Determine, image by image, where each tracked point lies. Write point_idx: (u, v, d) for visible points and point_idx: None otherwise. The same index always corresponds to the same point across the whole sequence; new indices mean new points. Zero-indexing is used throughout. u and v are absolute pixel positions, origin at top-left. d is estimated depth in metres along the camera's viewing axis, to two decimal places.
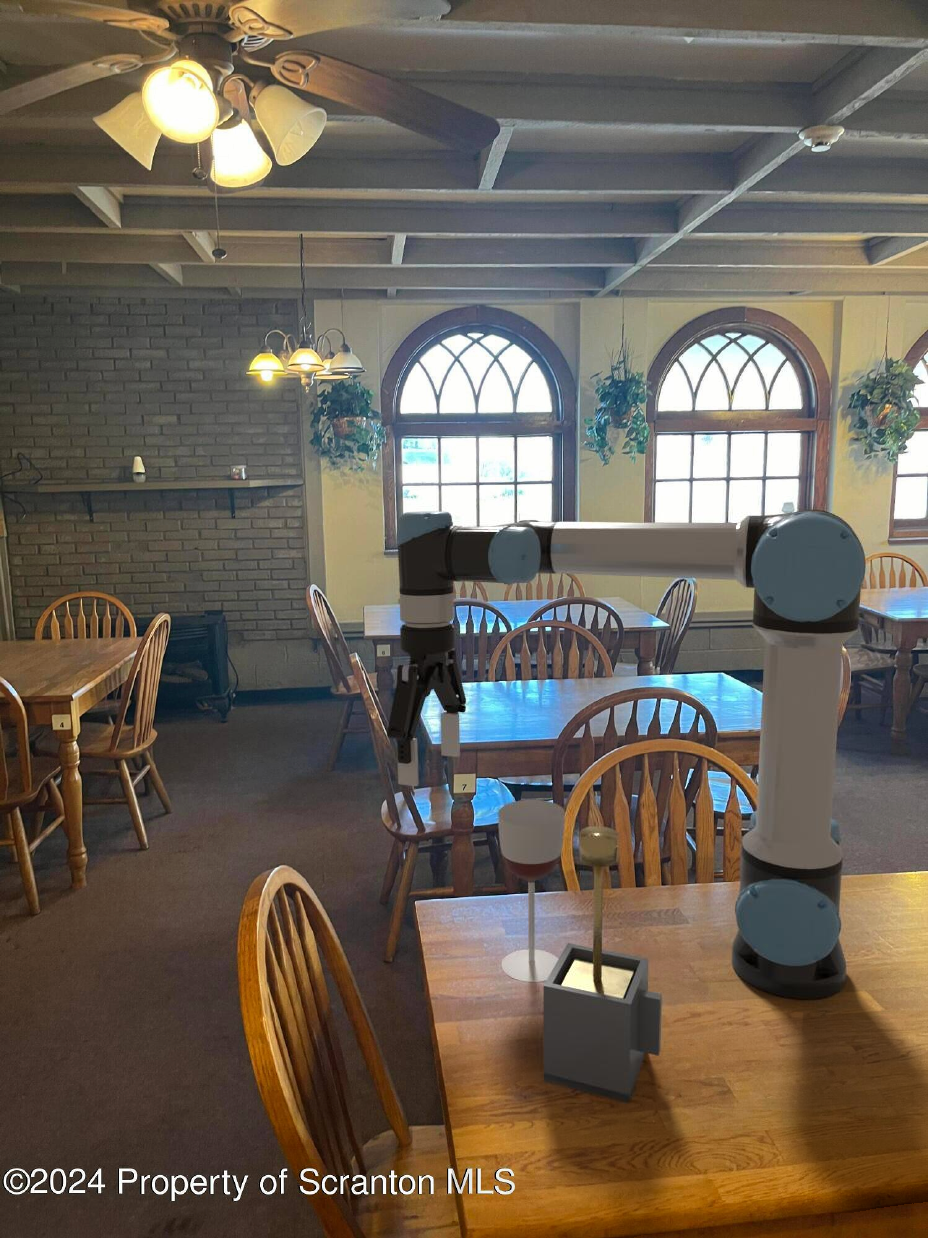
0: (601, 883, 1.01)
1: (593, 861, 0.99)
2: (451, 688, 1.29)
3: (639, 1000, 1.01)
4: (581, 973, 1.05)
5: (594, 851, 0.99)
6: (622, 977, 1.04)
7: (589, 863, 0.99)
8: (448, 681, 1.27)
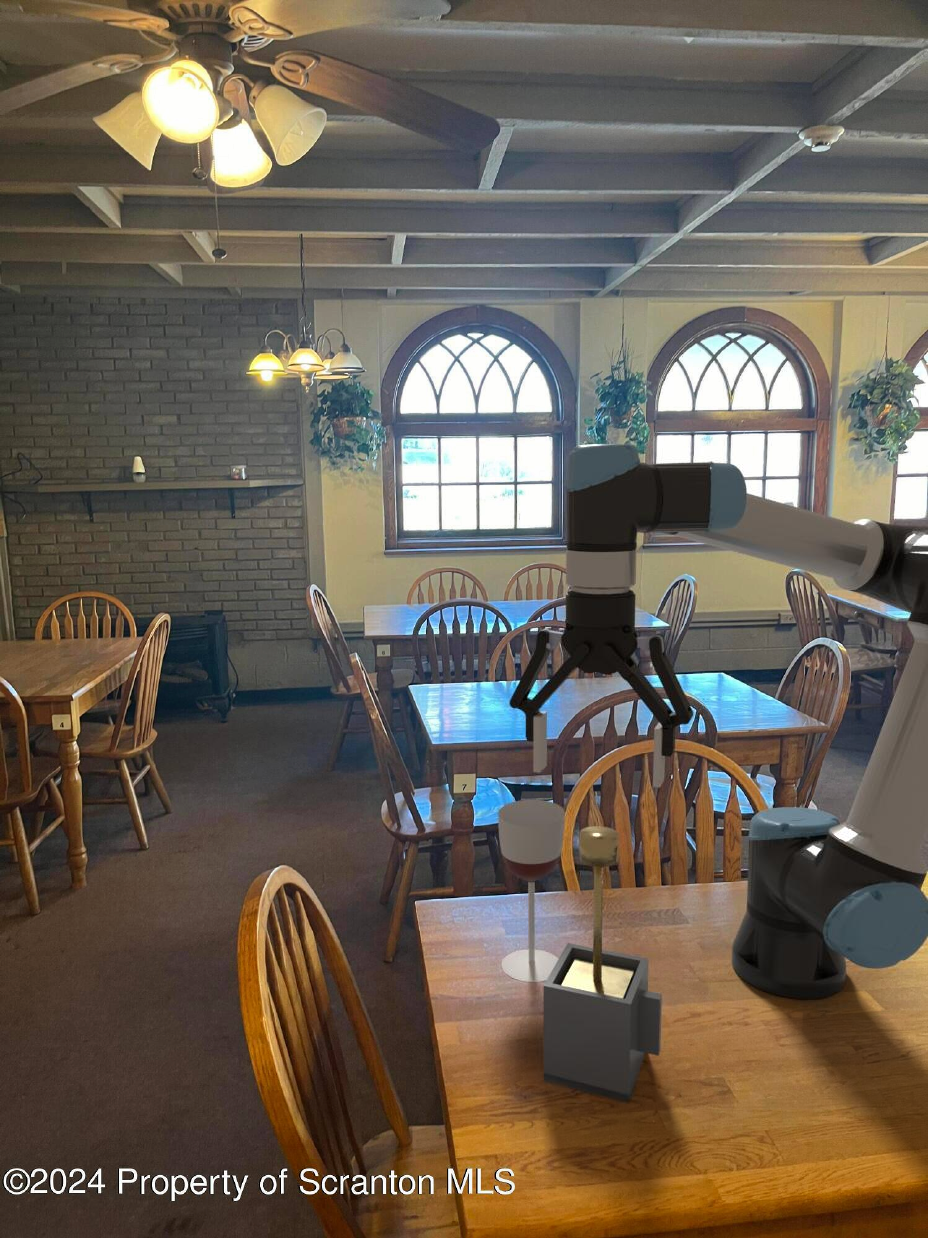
0: (601, 883, 1.01)
1: (593, 861, 0.99)
2: (642, 688, 0.95)
3: (639, 1000, 1.01)
4: (581, 973, 1.05)
5: (594, 851, 0.99)
6: (622, 977, 1.04)
7: (589, 863, 0.99)
8: (623, 673, 0.95)
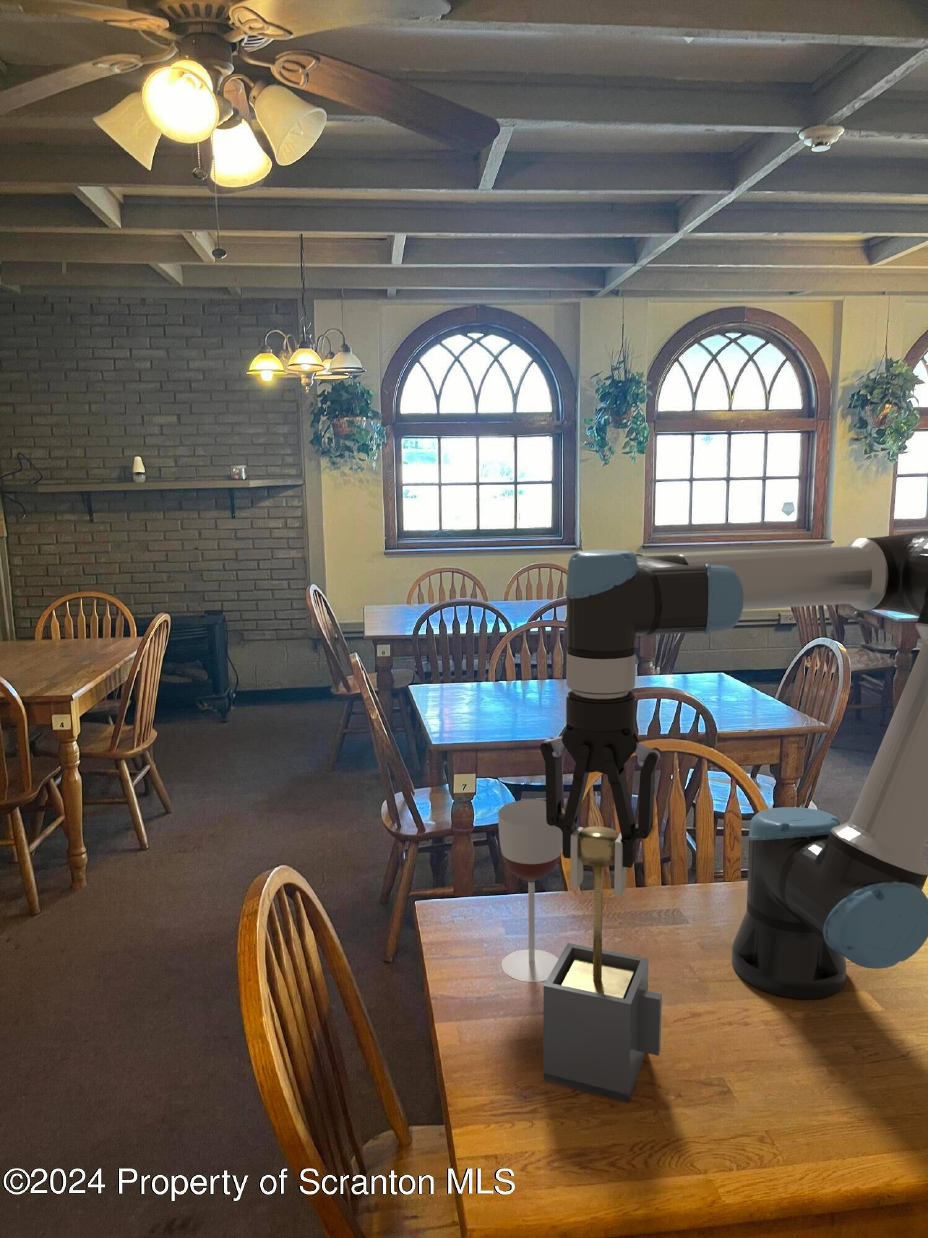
0: (601, 883, 1.01)
1: (593, 861, 0.99)
2: (621, 797, 0.98)
3: (639, 1000, 1.01)
4: (581, 973, 1.05)
5: (594, 851, 0.99)
6: (622, 977, 1.04)
7: (589, 863, 0.99)
8: (610, 778, 0.97)
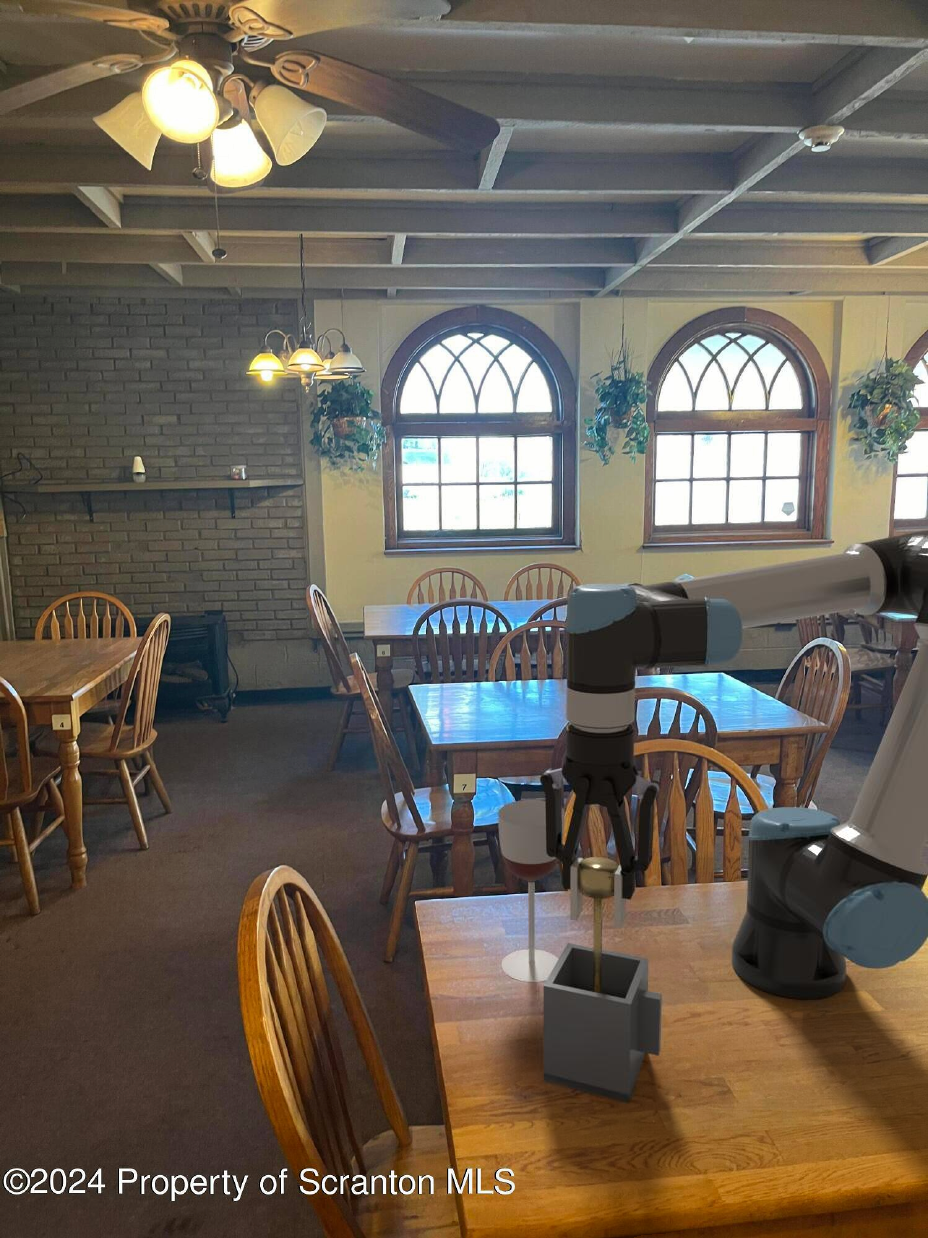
0: (601, 914, 1.02)
1: (593, 893, 1.00)
2: (620, 830, 0.98)
3: (639, 1000, 1.01)
4: None
5: (594, 883, 1.00)
6: None
7: (589, 895, 1.00)
8: (610, 811, 0.98)
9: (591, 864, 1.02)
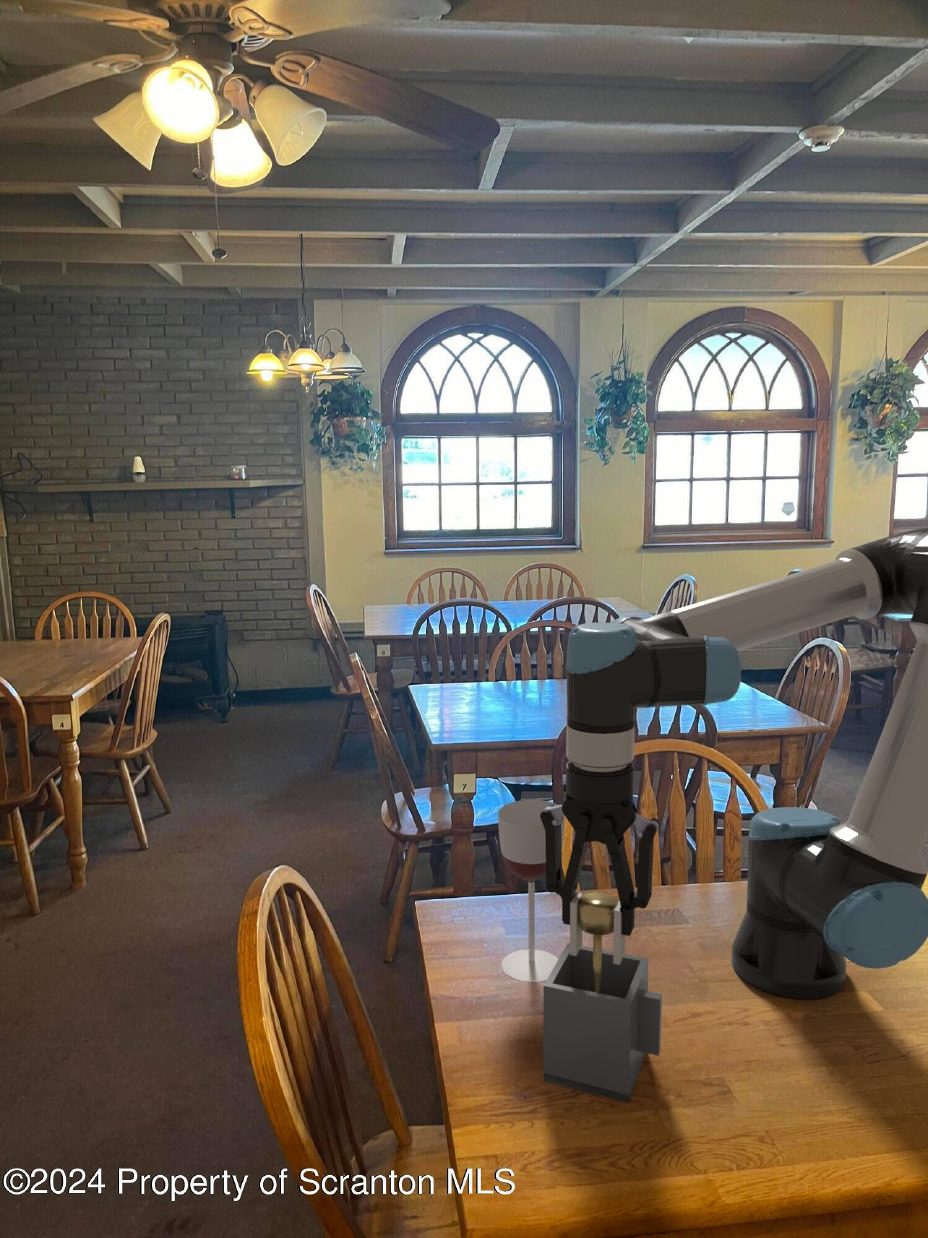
0: (600, 949, 1.03)
1: (592, 929, 1.01)
2: (620, 867, 0.99)
3: (639, 1000, 1.01)
4: None
5: (593, 919, 1.00)
6: None
7: (589, 931, 1.01)
8: (609, 848, 0.99)
9: (591, 900, 1.02)
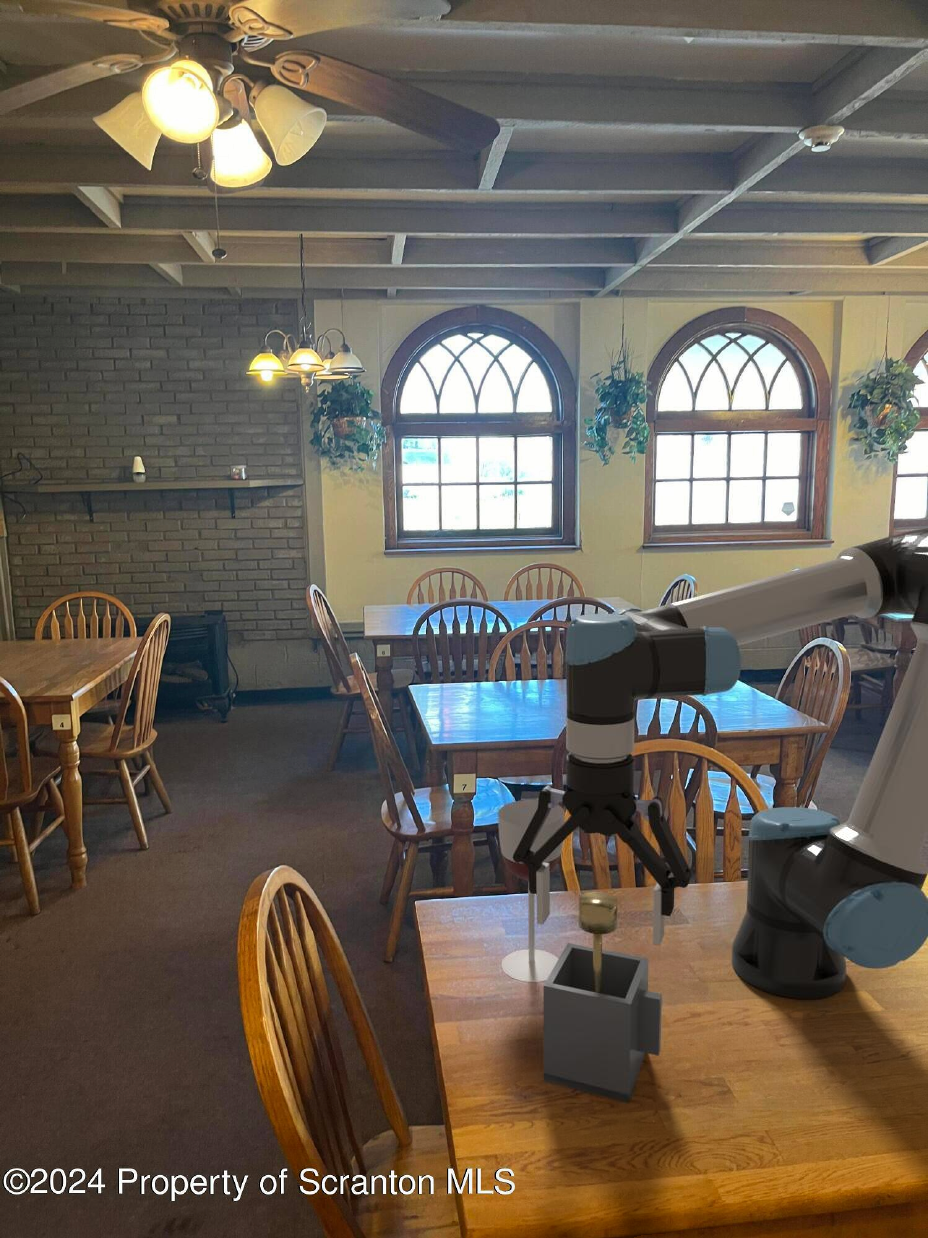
0: (600, 949, 1.03)
1: (592, 928, 1.01)
2: (641, 851, 0.98)
3: (639, 1000, 1.01)
4: None
5: (593, 918, 1.00)
6: None
7: (589, 930, 1.01)
8: (622, 837, 0.98)
9: (591, 899, 1.02)
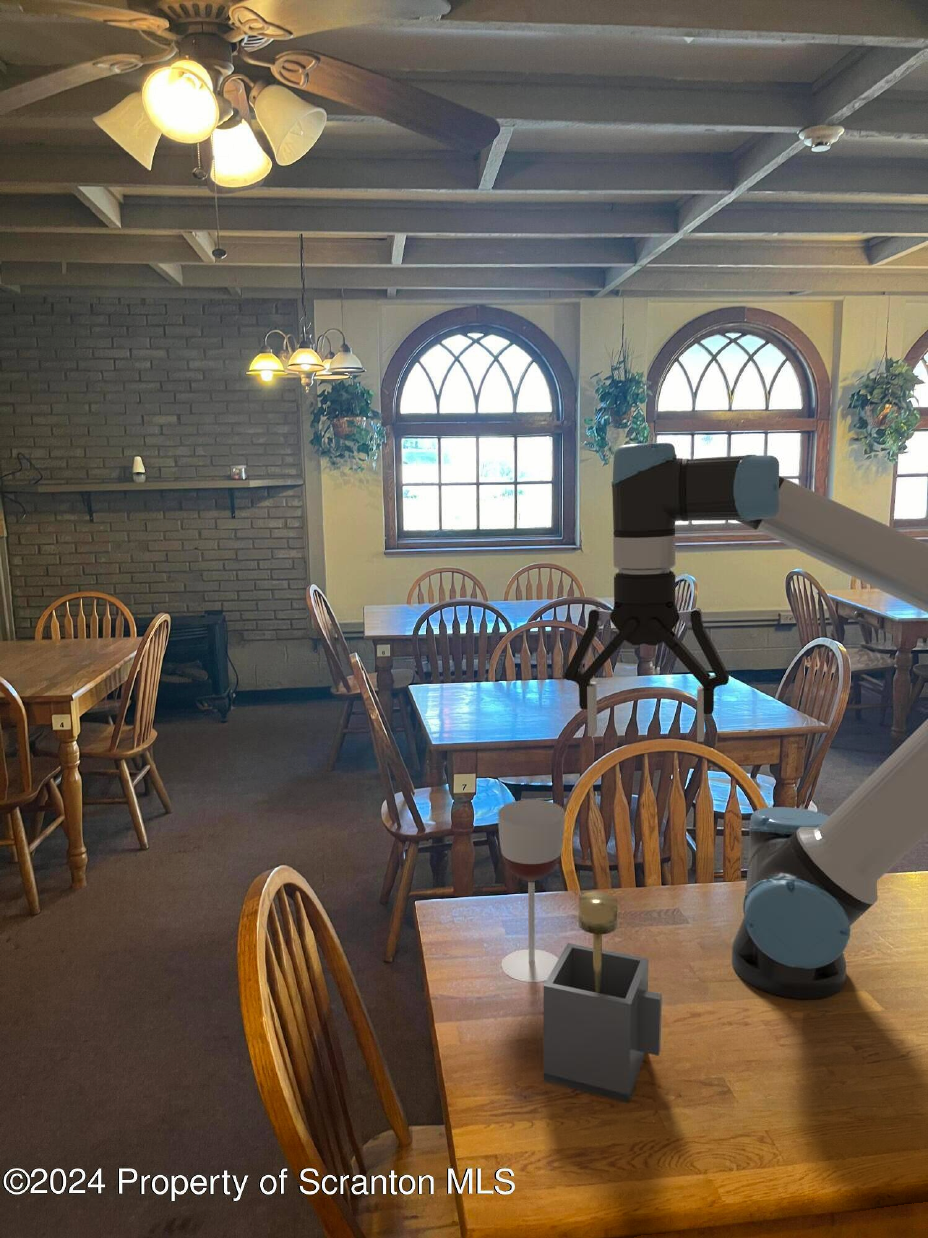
0: (600, 949, 1.03)
1: (592, 928, 1.01)
2: (685, 655, 1.09)
3: (639, 1000, 1.01)
4: None
5: (593, 918, 1.00)
6: None
7: (589, 930, 1.01)
8: (668, 643, 1.09)
9: (591, 899, 1.02)
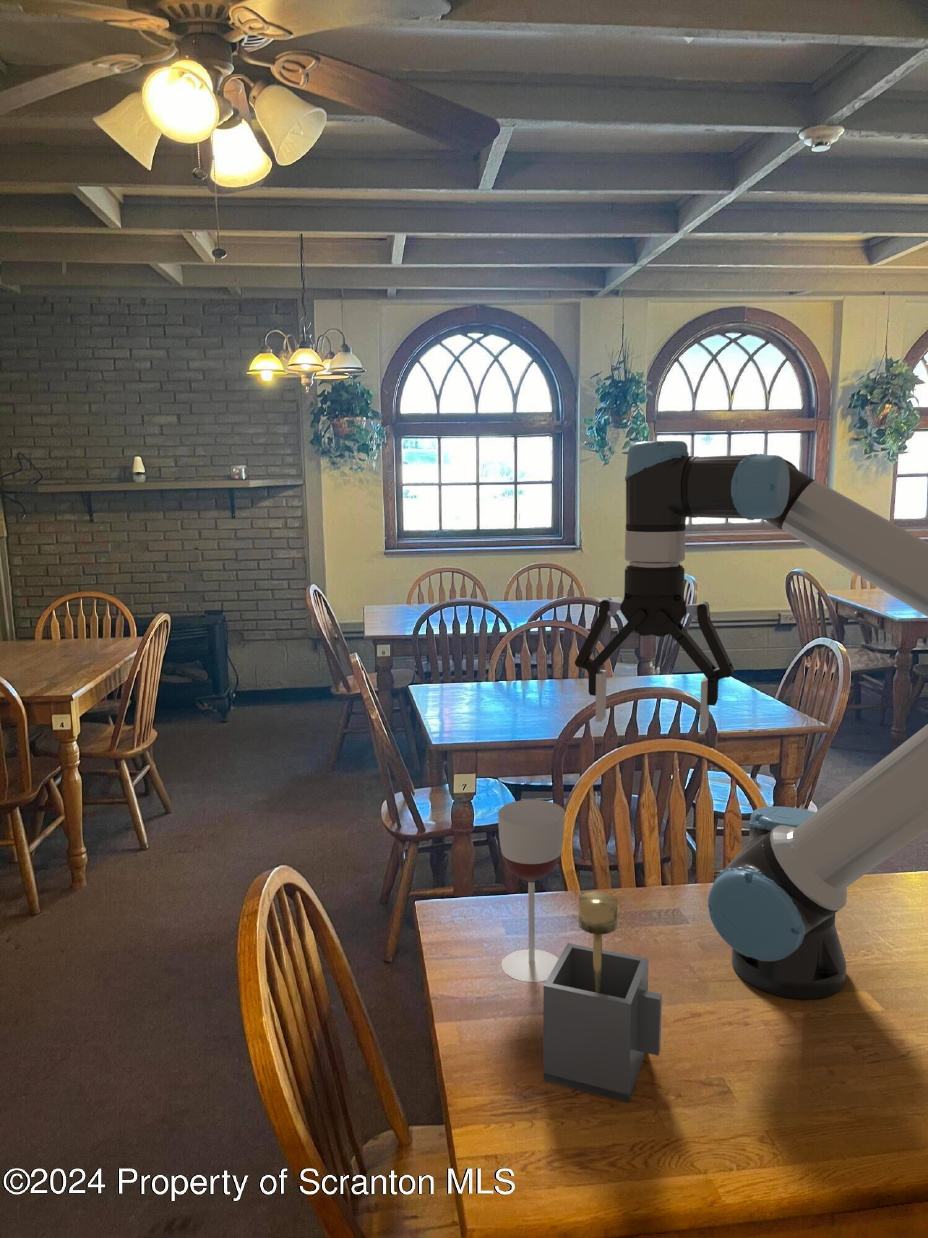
0: (600, 949, 1.03)
1: (592, 928, 1.01)
2: (691, 647, 1.12)
3: (639, 1000, 1.01)
4: None
5: (593, 918, 1.00)
6: None
7: (589, 930, 1.01)
8: (674, 635, 1.12)
9: (591, 899, 1.02)
